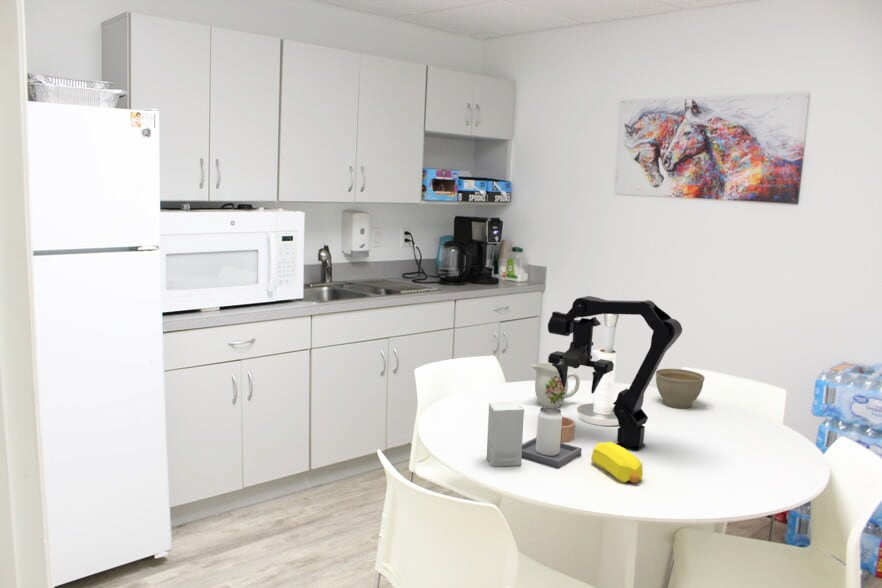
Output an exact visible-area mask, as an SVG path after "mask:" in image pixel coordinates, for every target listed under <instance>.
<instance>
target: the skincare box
mask: <svg viewBox="0 0 882 588" xmlns="http://www.w3.org/2000/svg"><path fill="white" fill-rule="evenodd" d="M524 414H525V409H524V408H523V406H521V404H520V403H518V402H517V401H516V402H515V401H513V402H510V401H509V402H488V420H487V438H486V439H487V442H486V459H487V461H488V463H489V462H490V463H489V464H490V465H492V466H495V467H515V466H518V467H519V466H522V459H523V458H522V444H523V437H524V436H523V435H524V434H523V433H524V416H525V415H524ZM492 466H491V467H492Z"/></svg>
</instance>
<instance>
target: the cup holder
mask: <svg viewBox="0 0 882 588" xmlns="http://www.w3.org/2000/svg"><path fill="white" fill-rule="evenodd" d="M575 429H576V421H575V420H573V419H572V418H570V417H565V416H562V427H561V440H560V442H561V443H568V442H567V441H569V442H571V441H573V440H575V431H576V430H575Z"/></svg>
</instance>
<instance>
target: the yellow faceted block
mask: <svg viewBox="0 0 882 588" xmlns="http://www.w3.org/2000/svg"><path fill="white" fill-rule="evenodd" d="M590 461H592V463H593V464H594V465H595V466H597V467H598V468H600V469H602V470H604V471H606V472H607V473H609V474H610V475H611V476H613V477H614V478H615V479H616V480H617V481H619V482H621V483H626V482H628V481H629V482H630V483H631V484H632V483H633V484H635V483H638V482H640V481H642V479H643V475H644V474H643V462H642V461H641V460H640V459H639V458H638V457H637V456H635V455H634V454H633V453H632V452H630V451H628V450H627V448H624V447H621V446H619V445H617V444H616V443H614V442H612V441H607V442H599V443H597V444H596V446H594V448H593V450H592V453H591V458H590Z"/></svg>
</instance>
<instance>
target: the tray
mask: <svg viewBox="0 0 882 588" xmlns="http://www.w3.org/2000/svg"><path fill="white" fill-rule="evenodd" d="M536 438H537V436H536V437H534V438H532V439H530V440H528V441H527V440H526V442H524V443H523V442H522V458H521V459H524V460H528V461H530V462H533V463H537V464H540V465H544V466H548V467H550V468H553V469H560V468H561V467H563V466H565V465H566V464H567V465H568V463H570V462H572V461H574V460H575V459H577V458H579V457H580V456H582V447H578V446H574V445H572V444H568V443H565V442H560V452H559V454H558V455H556V456H543V455H540V454H538V453H537V451H536Z"/></svg>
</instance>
